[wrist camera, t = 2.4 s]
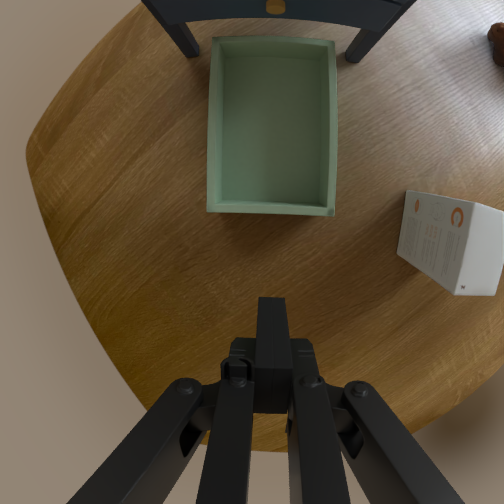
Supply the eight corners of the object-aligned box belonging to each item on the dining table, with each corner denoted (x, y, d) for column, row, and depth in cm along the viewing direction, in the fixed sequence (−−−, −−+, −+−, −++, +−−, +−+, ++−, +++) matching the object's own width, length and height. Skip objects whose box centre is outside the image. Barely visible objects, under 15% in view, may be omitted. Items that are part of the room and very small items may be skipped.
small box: (434, 258, 31) (495, 298, 19) (394, 254, 32) (452, 297, 19) (445, 197, 29) (514, 214, 17) (405, 188, 29) (473, 201, 17)
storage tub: (219, 54, 26) (212, 36, 22) (325, 58, 26) (334, 41, 21) (215, 206, 31) (206, 212, 26) (324, 209, 31) (334, 216, 26)
